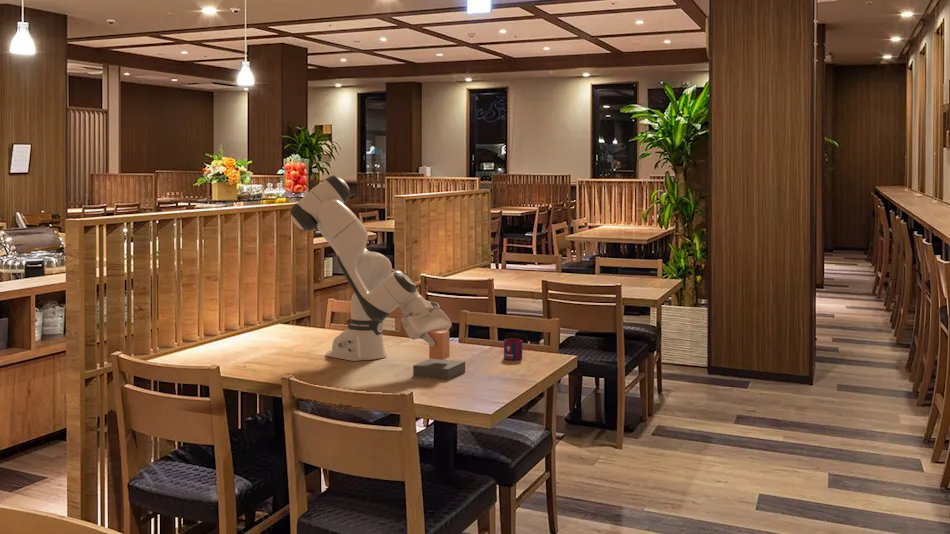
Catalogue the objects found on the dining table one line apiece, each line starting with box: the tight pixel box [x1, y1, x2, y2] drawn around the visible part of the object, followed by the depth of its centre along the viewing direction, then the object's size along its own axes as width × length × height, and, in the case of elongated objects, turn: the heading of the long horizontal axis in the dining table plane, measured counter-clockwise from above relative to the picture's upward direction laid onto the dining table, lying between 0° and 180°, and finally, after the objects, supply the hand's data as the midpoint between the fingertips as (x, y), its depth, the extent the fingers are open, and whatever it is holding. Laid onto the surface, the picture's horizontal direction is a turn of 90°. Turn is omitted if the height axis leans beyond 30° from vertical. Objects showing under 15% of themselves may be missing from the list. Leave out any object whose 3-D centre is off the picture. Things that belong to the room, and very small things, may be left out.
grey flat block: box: [412, 358, 466, 381], centre depth 292 cm, size 13×13×4 cm
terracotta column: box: [428, 330, 450, 360], centre depth 291 cm, size 5×5×9 cm
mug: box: [503, 338, 523, 362], centre depth 318 cm, size 7×10×7 cm
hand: (440, 343), depth 291 cm, fingers closed on terracotta column, 5 cm apart
